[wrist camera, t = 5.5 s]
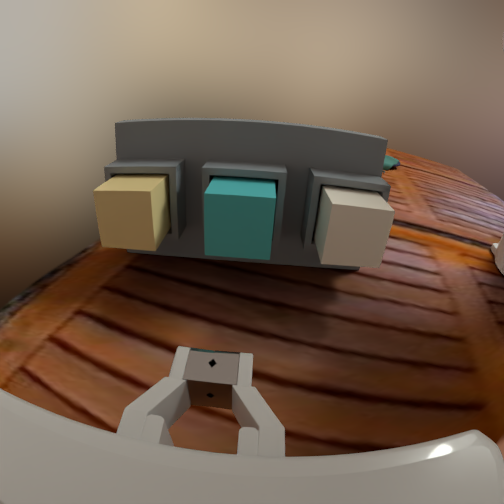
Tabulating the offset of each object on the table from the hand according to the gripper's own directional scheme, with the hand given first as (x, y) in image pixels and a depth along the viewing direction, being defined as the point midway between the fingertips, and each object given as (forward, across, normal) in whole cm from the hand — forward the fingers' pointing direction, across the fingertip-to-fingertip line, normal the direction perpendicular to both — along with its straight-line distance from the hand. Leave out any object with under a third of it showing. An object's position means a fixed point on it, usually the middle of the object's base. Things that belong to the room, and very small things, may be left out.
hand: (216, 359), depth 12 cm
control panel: (+18, 0, +7) cm, 20 cm away
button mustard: (+14, +9, +2) cm, 17 cm away
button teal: (+14, 0, +2) cm, 15 cm away
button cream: (+14, -9, +3) cm, 17 cm away
